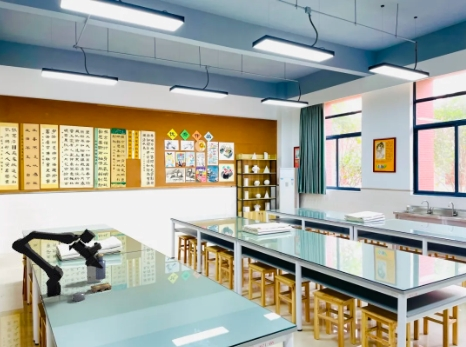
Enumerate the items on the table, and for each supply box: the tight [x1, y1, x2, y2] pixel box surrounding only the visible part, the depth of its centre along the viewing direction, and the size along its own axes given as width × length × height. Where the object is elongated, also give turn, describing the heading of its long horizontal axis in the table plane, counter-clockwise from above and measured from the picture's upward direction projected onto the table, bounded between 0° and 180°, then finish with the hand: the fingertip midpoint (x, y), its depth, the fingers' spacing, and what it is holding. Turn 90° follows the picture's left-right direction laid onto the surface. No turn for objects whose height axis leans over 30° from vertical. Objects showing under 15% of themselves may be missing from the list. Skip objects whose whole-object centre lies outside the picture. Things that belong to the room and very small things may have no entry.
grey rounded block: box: [72, 291, 86, 303], centre depth 189 cm, size 6×6×3 cm
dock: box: [90, 282, 113, 294], centre depth 204 cm, size 10×7×2 cm
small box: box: [86, 266, 103, 283], centre depth 220 cm, size 8×6×13 cm
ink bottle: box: [96, 253, 107, 280], centre depth 204 cm, size 5×5×14 cm
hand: (103, 266), depth 204 cm, fingers closed on ink bottle, 5 cm apart
